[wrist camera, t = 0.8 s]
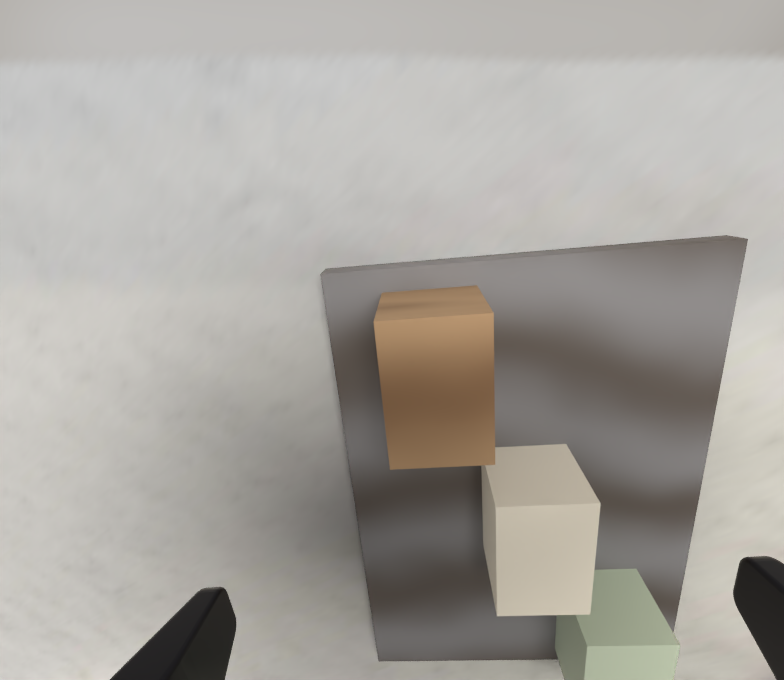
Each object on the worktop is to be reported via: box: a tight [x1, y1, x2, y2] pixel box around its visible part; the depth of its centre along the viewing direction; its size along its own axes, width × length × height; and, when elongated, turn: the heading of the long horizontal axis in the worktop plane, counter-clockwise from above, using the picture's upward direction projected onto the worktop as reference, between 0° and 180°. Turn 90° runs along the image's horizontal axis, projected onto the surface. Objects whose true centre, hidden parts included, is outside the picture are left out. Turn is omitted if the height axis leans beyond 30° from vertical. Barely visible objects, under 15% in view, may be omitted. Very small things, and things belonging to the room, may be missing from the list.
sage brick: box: [555, 569, 680, 680], centre depth 22 cm, size 6×4×4 cm, turn 5°
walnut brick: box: [374, 285, 495, 470], centre depth 17 cm, size 6×4×4 cm, turn 5°
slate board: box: [321, 235, 748, 661], centre depth 22 cm, size 24×17×1 cm
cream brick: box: [481, 444, 601, 616], centre depth 20 cm, size 6×4×4 cm, turn 5°
